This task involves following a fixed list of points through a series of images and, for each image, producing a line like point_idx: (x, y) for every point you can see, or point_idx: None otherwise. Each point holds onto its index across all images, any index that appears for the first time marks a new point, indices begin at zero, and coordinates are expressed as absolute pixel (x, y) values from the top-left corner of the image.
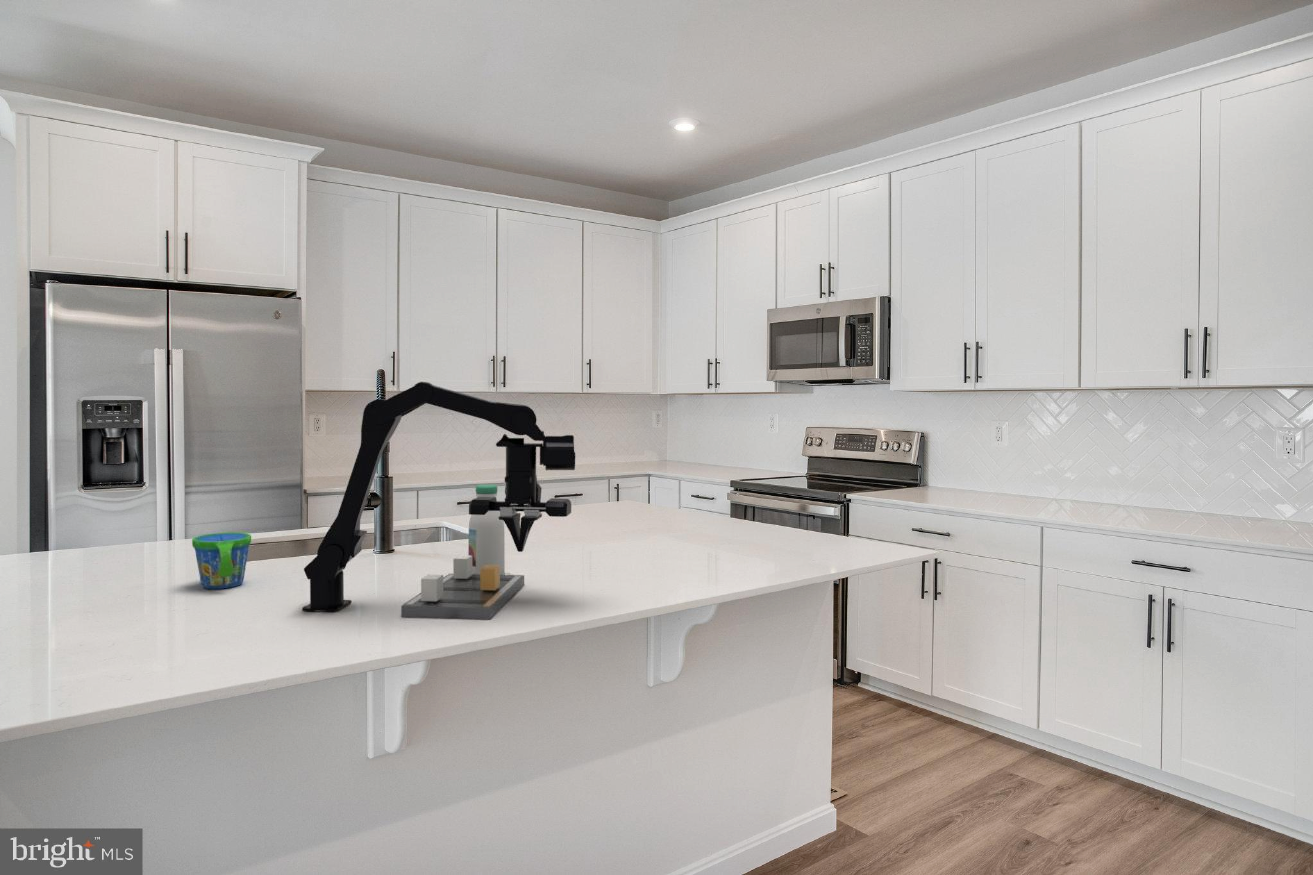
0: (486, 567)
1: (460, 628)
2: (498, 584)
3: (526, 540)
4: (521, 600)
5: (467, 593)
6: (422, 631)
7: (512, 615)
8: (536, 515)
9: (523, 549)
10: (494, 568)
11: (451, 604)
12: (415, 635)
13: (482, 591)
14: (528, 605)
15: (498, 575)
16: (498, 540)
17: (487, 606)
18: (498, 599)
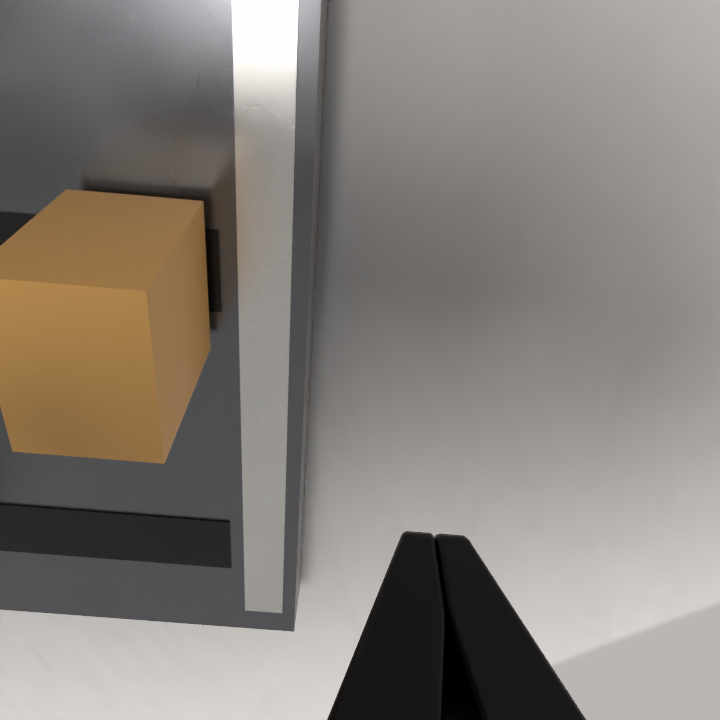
0: (35, 384)
1: (208, 665)
2: (200, 257)
3: (546, 671)
4: (412, 231)
5: None
6: (74, 686)
7: (399, 528)
8: None
9: (472, 549)
10: (142, 424)
11: (57, 579)
12: (74, 715)
13: None
14: (475, 356)
15: (179, 298)
16: None
17: (271, 612)
18: (294, 501)
